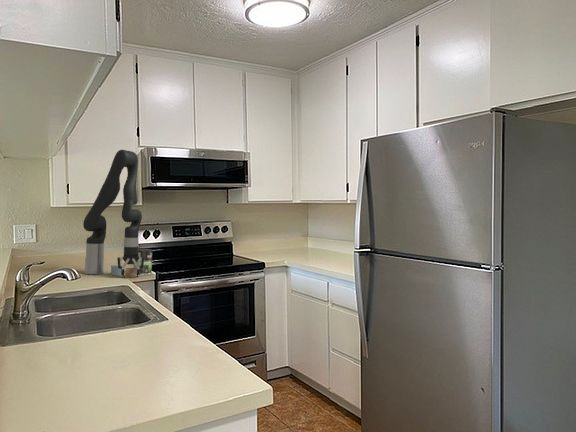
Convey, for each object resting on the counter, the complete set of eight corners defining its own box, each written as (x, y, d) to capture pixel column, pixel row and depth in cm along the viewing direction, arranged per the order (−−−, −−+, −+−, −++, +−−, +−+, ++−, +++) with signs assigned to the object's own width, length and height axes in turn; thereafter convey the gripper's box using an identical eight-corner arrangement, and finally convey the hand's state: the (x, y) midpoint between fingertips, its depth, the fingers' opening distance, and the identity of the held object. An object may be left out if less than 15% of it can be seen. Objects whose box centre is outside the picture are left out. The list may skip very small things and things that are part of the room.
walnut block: (125, 278, 232) (125, 269, 232) (125, 277, 236) (126, 268, 236) (135, 278, 233) (135, 269, 233) (135, 276, 238) (135, 267, 238)
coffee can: (154, 272, 254) (154, 249, 254) (148, 275, 244) (148, 250, 244) (136, 272, 254) (137, 248, 254) (130, 274, 244) (130, 250, 244)
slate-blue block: (112, 275, 241) (112, 266, 241) (111, 273, 246) (111, 265, 245) (122, 274, 244) (122, 265, 244) (120, 273, 248) (120, 264, 248)
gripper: (116, 246, 229) (115, 277, 229) (145, 246, 233) (144, 277, 233) (117, 245, 236) (116, 275, 236) (145, 245, 240) (144, 274, 241)
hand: (130, 276), depth 235 cm, fingers open, 6 cm apart
